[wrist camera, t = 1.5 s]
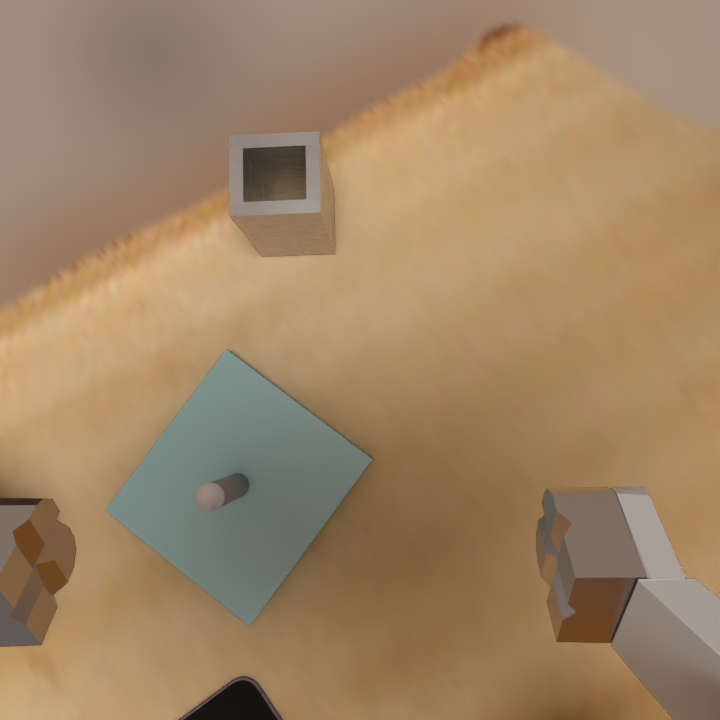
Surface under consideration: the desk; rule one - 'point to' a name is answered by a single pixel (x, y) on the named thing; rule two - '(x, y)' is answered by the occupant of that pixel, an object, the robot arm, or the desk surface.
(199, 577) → the post base
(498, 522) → the desk surface
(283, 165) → the grey hollow box
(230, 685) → the smartphone
